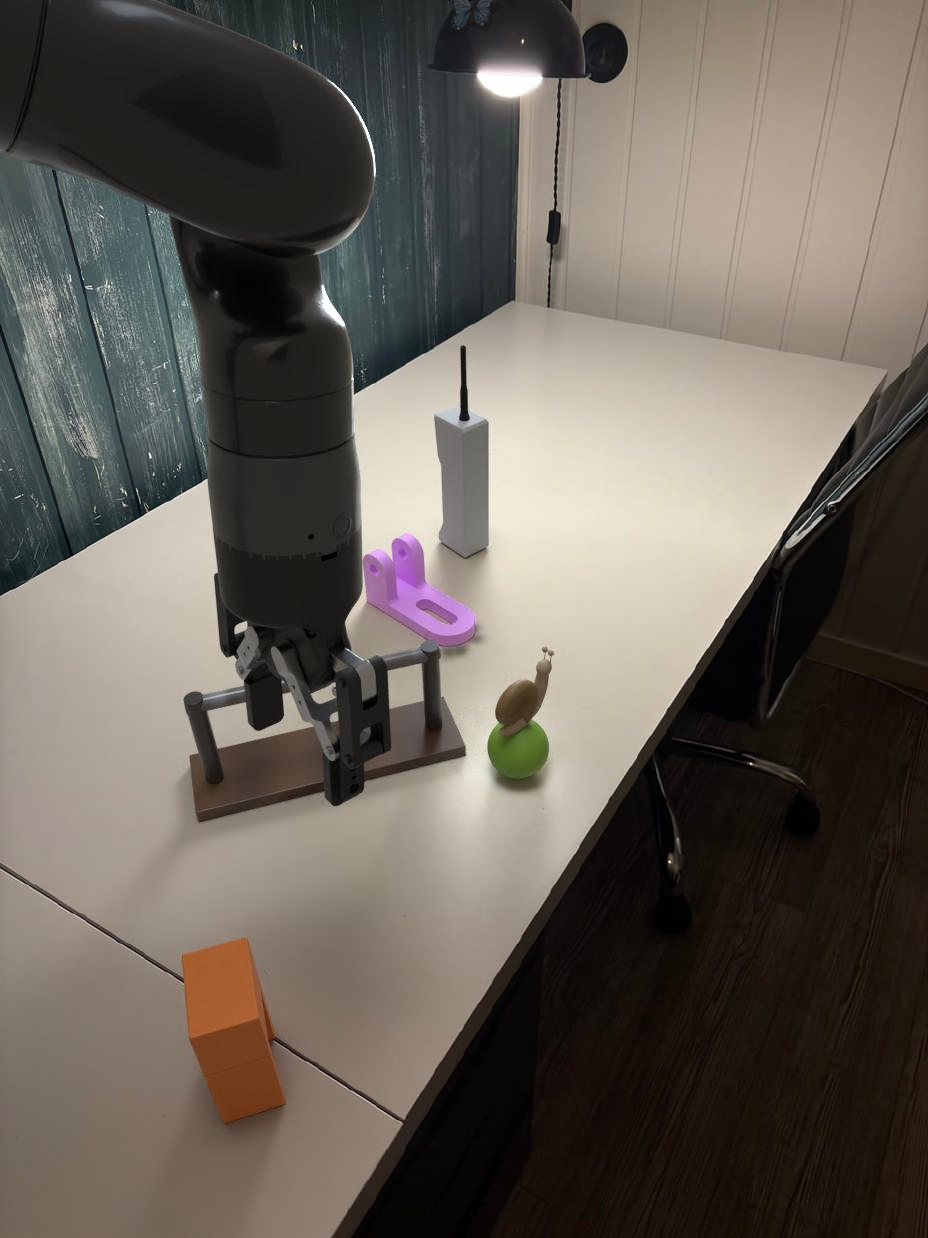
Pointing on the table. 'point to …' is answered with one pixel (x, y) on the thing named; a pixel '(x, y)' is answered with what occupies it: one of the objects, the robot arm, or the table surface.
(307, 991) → the table surface
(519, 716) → the snail figurine
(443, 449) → the vintage mobile phone
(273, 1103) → the orange lidded gift box
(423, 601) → the bracket
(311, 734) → the rail stand
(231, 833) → the table surface
